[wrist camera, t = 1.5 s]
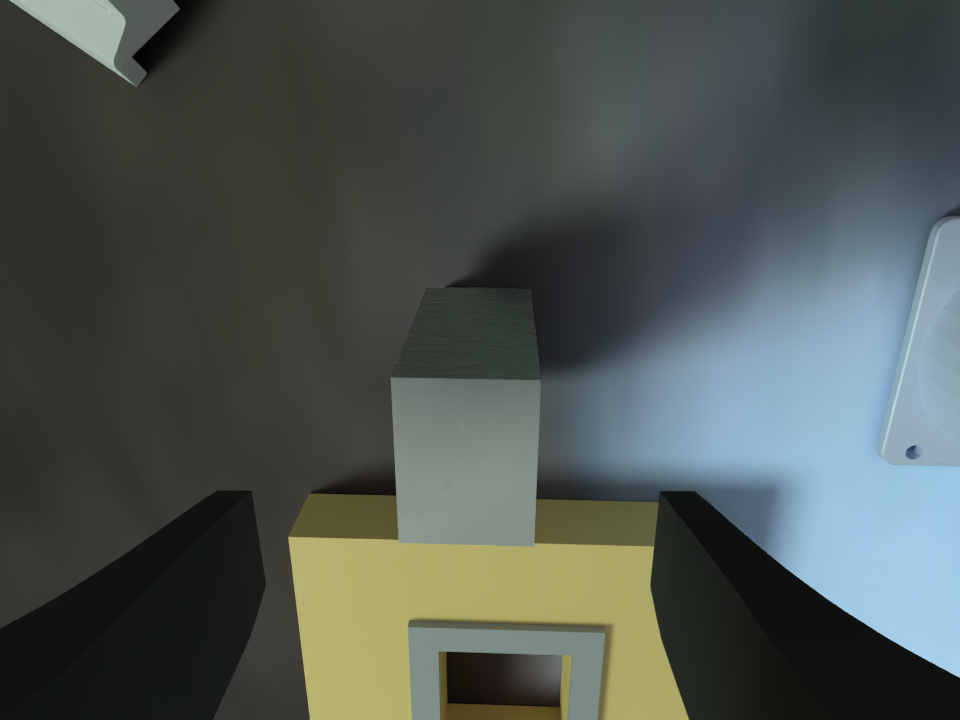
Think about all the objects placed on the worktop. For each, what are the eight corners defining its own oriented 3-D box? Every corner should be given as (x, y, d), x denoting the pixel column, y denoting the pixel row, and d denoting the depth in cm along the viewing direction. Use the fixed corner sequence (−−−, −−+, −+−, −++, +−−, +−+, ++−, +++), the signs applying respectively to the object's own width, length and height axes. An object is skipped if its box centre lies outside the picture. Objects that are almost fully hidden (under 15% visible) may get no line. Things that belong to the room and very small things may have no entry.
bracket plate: (710, 503, 24) (735, 554, 21) (667, 785, 29) (683, 854, 27) (309, 493, 24) (285, 542, 22) (337, 773, 30) (321, 839, 27)
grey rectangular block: (529, 275, 21) (540, 380, 14) (525, 394, 23) (533, 546, 15) (431, 274, 21) (390, 377, 14) (434, 392, 23) (398, 542, 15)
